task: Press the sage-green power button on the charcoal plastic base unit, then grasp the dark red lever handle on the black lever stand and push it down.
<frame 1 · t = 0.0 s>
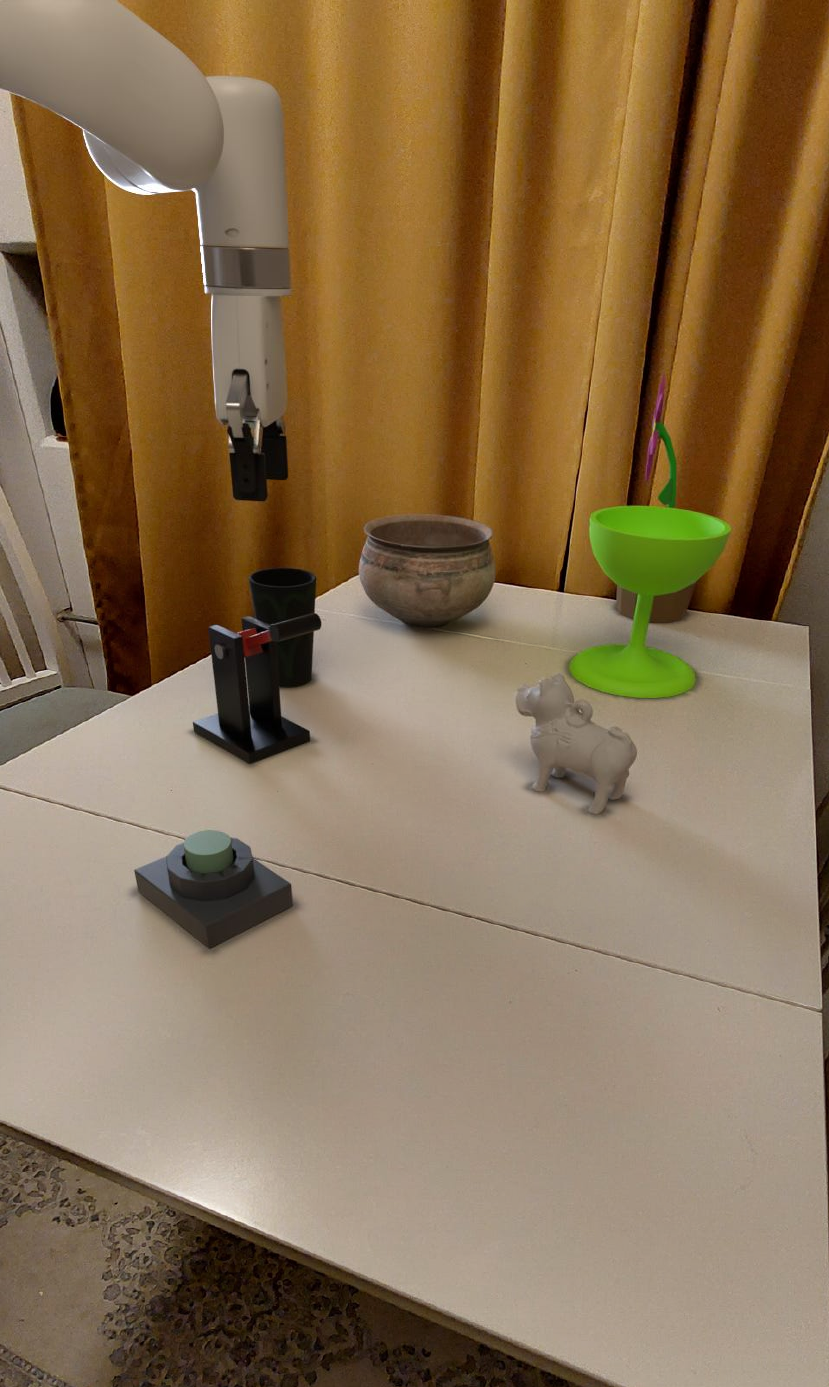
hand: (262, 489, 87), 23 cm above the table, tool pointing down, fingers open, 9 cm apart
black lever stand: (251, 736, 94), on the table
dog figurine: (565, 790, 87), on the table
power button: (208, 851, 68), point 5 cm above the table, slide at 0.2 cm
cup: (288, 679, 107), on the table
lever handle: (266, 636, 85), point 12 cm above the table, hinge at 25.0°
cooking pot: (425, 621, 125), on the table
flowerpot: (650, 612, 132), on the table
wineglass: (631, 674, 112), on the table
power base: (215, 899, 70), on the table
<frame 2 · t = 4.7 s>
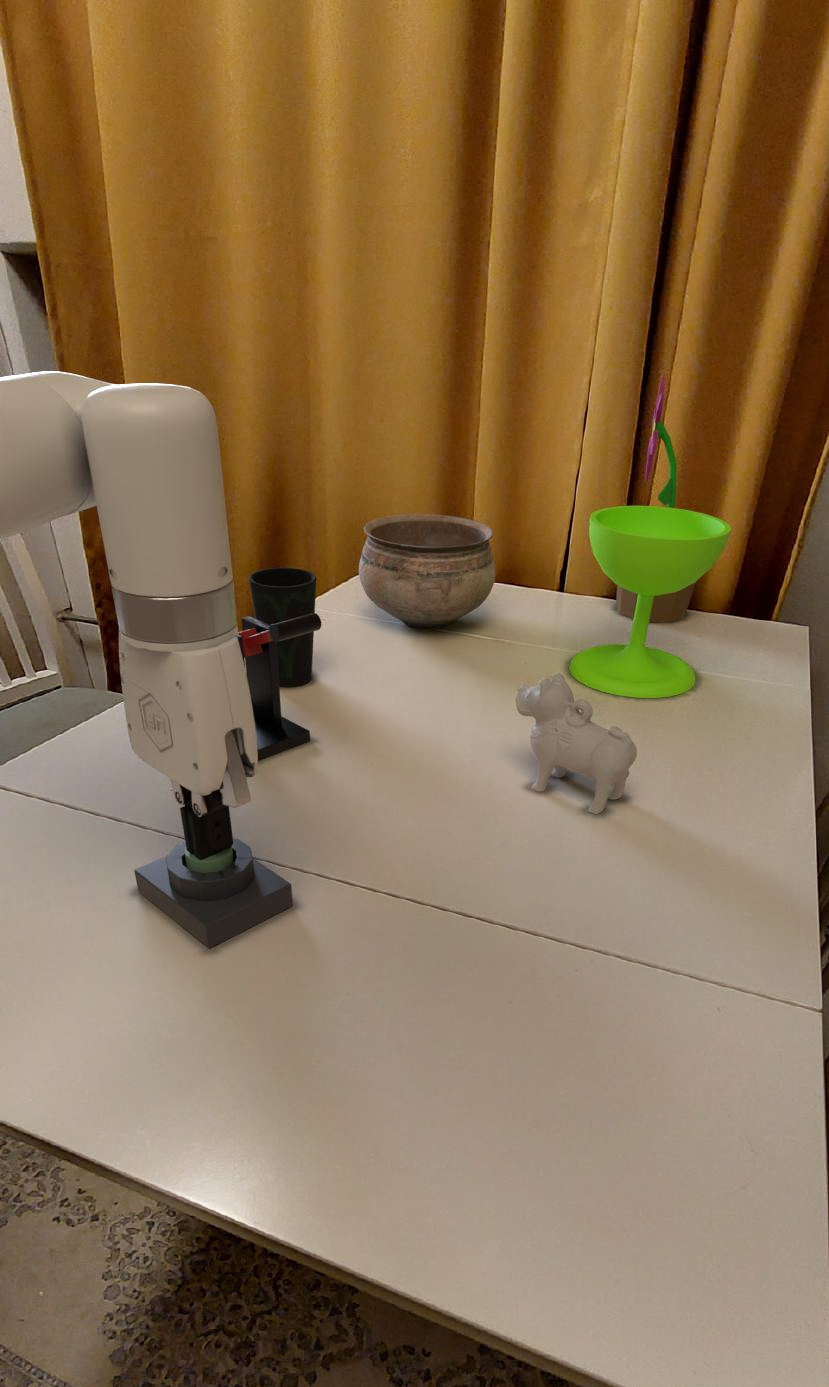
hand: (210, 849, 68), 5 cm above the table, tool pointing down, fingers closed
power button: (209, 858, 68), point 4 cm above the table, slide at -0.5 cm, touching gripper
everything else where it was.
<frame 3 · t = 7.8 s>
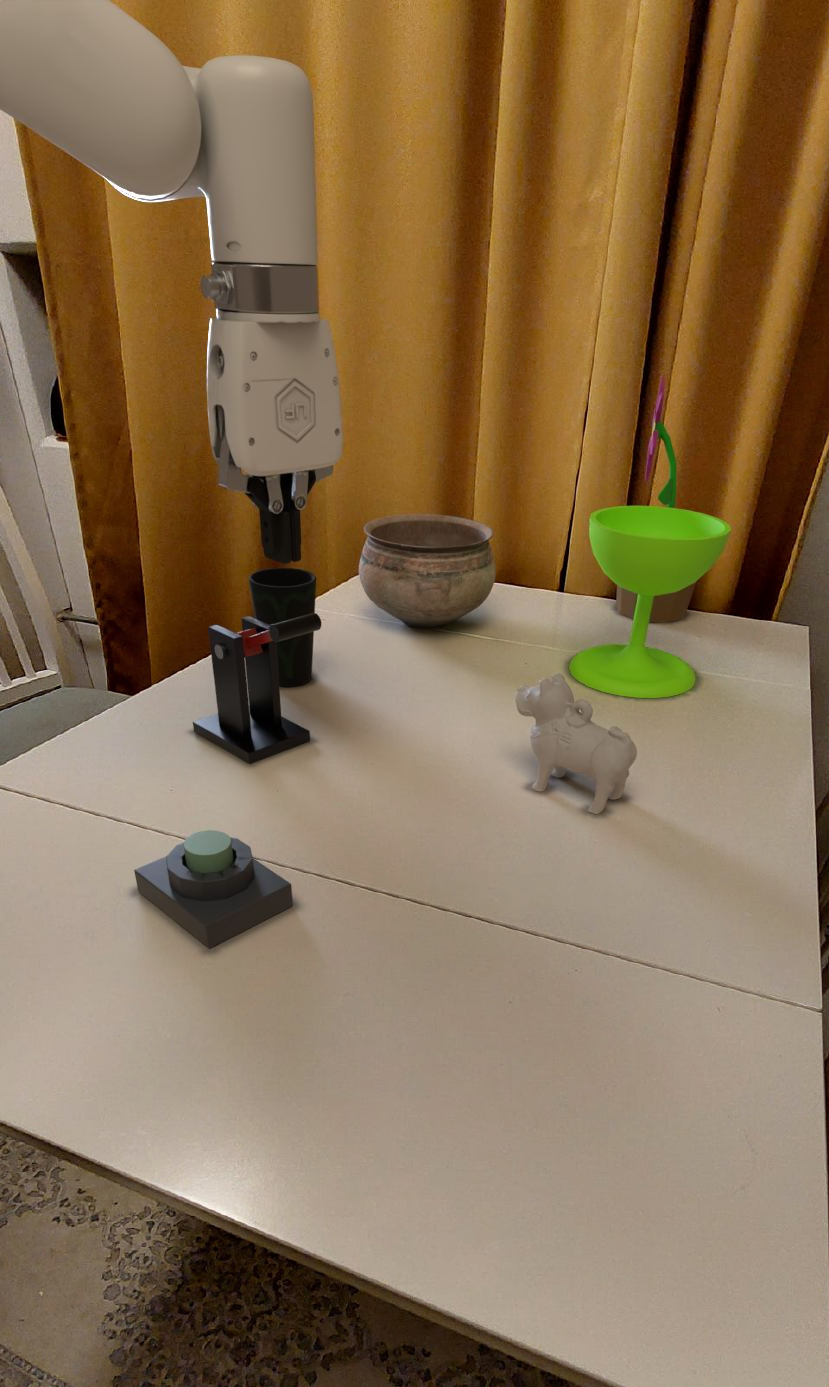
hand: (282, 558, 75), 21 cm above the table, tool pointing down, fingers closed
power button: (208, 851, 68), point 5 cm above the table, slide at 0.1 cm
everything else where it was.
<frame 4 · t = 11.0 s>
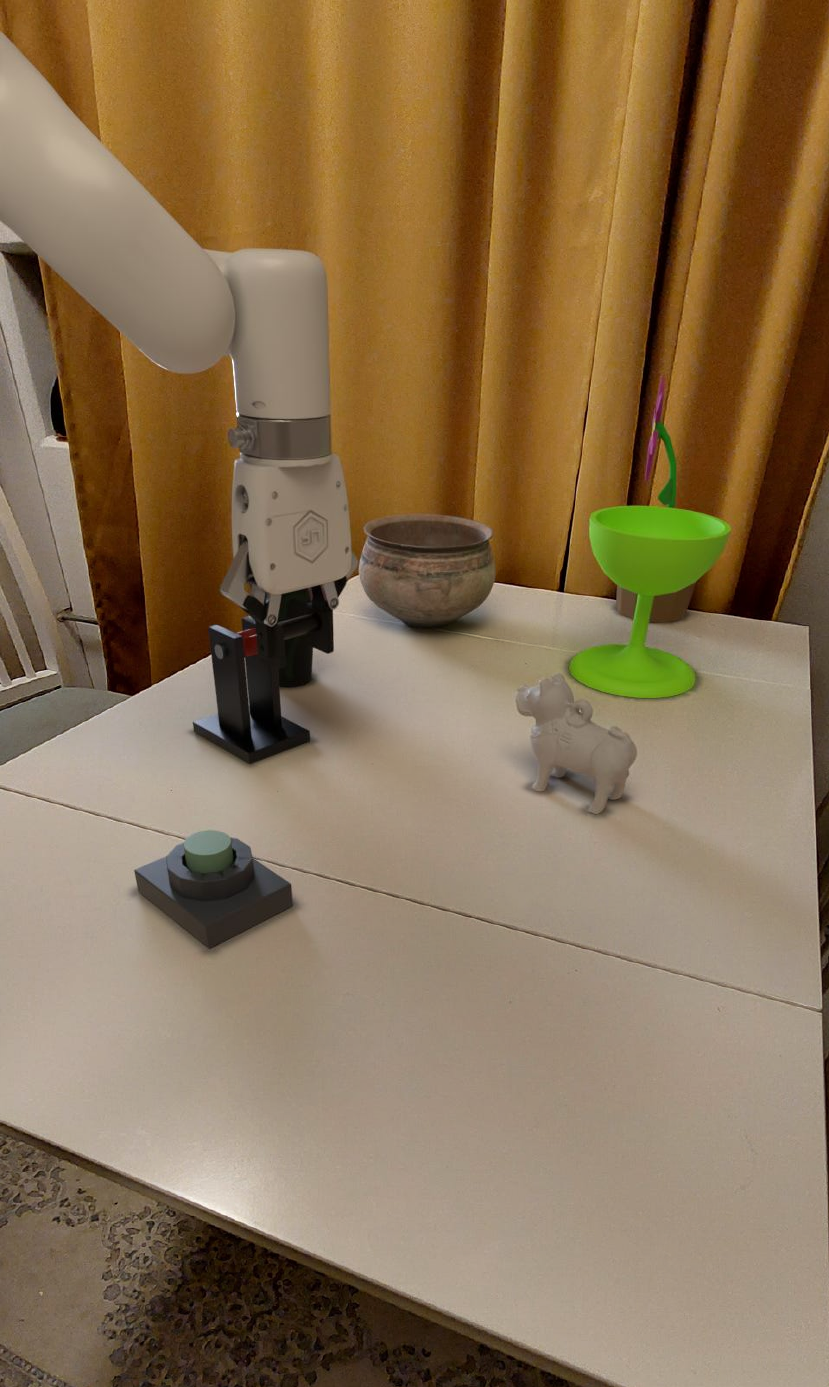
hand: (296, 654, 82), 11 cm above the table, tool pointing down, fingers closed on lever handle, 5 cm apart
lever handle: (266, 636, 85), point 12 cm above the table, hinge at 25.0°, touching gripper
everything else where it was.
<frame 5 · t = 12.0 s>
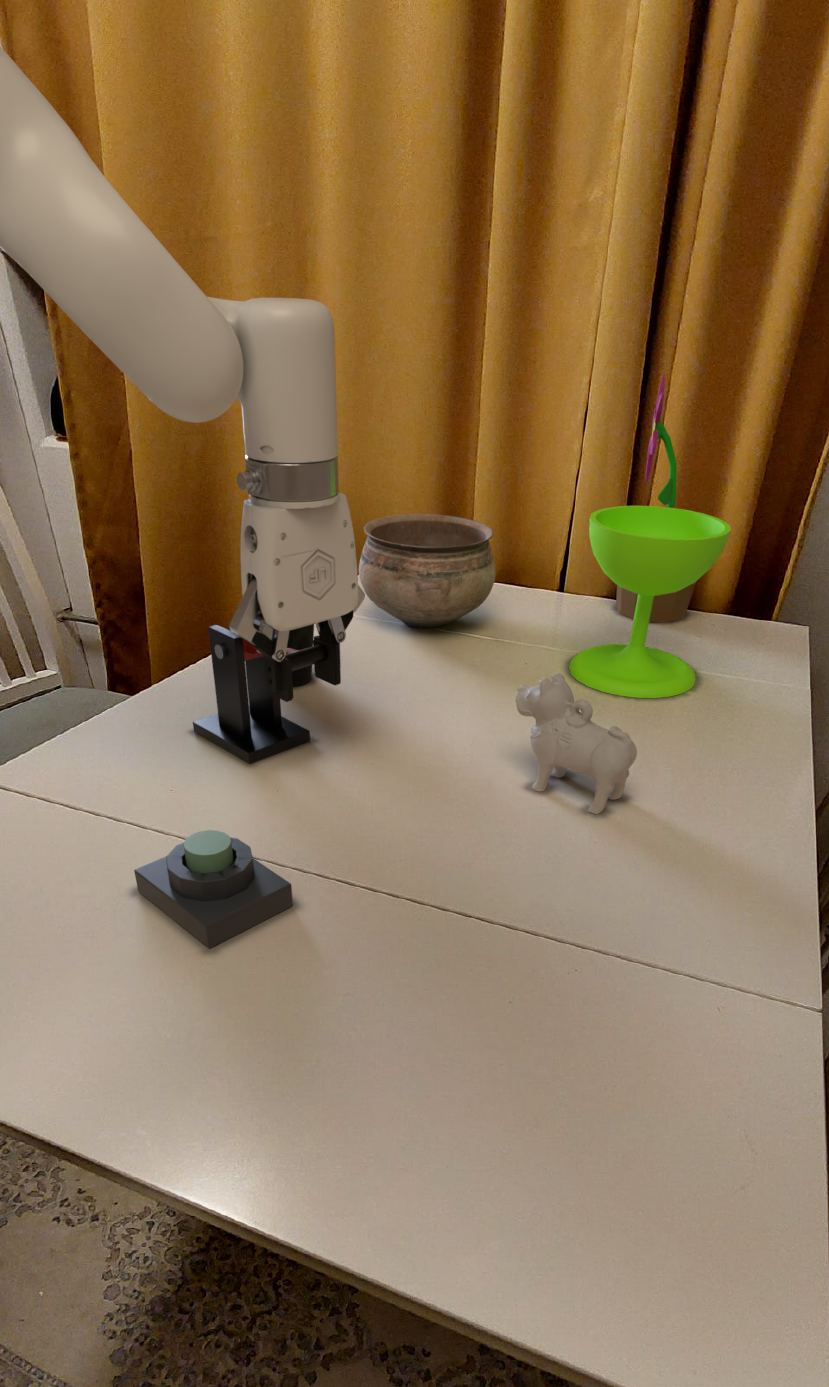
hand: (304, 686, 84), 9 cm above the table, tool pointing down, fingers closed on lever handle, 5 cm apart
lever handle: (270, 651, 85), point 11 cm above the table, hinge at 7.7°, touching gripper
everything else where it was.
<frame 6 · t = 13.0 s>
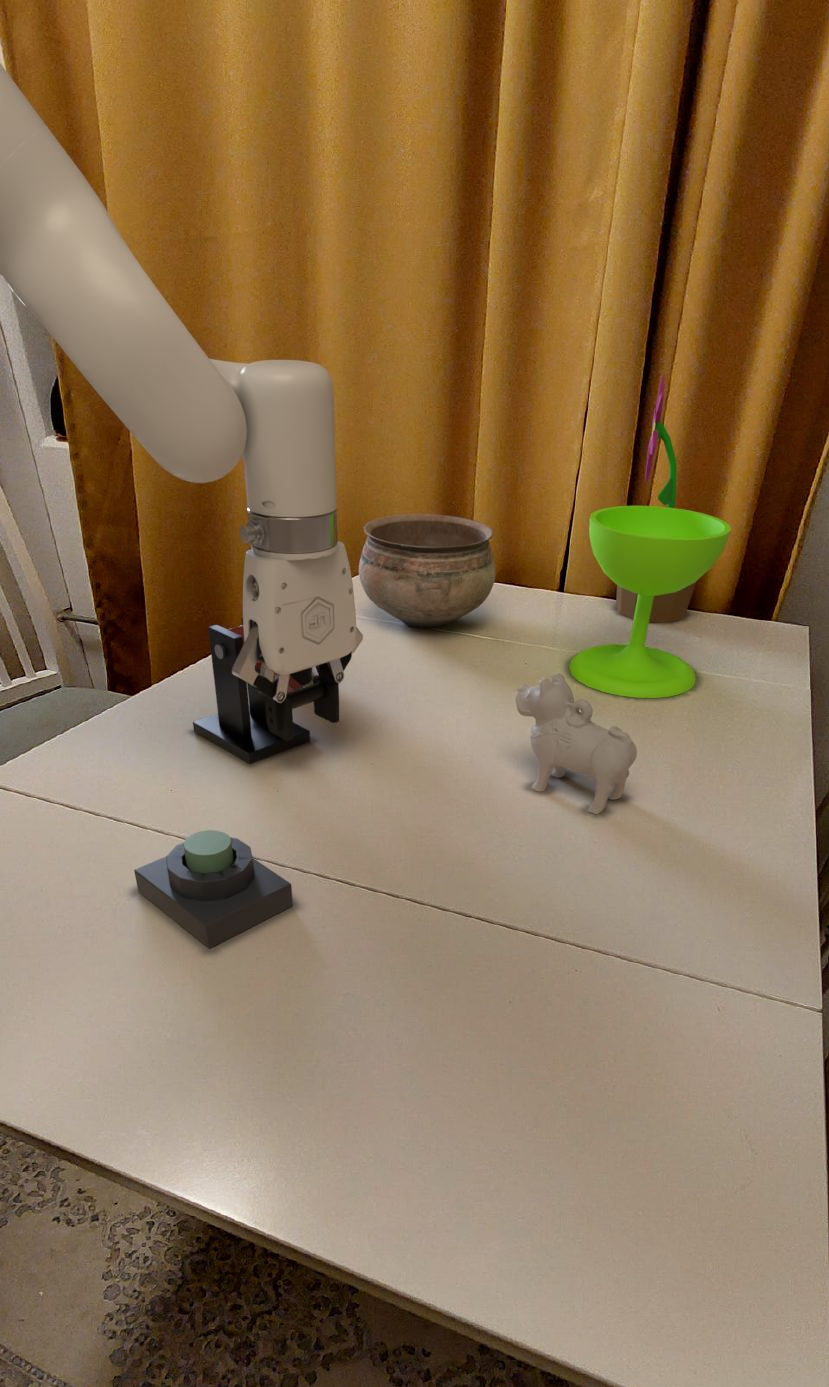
hand: (304, 725, 86), 4 cm above the table, tool pointing down, fingers closed on lever handle, 5 cm apart
lever handle: (270, 668, 86), point 9 cm above the table, hinge at -15.6°, touching gripper
everything else where it was.
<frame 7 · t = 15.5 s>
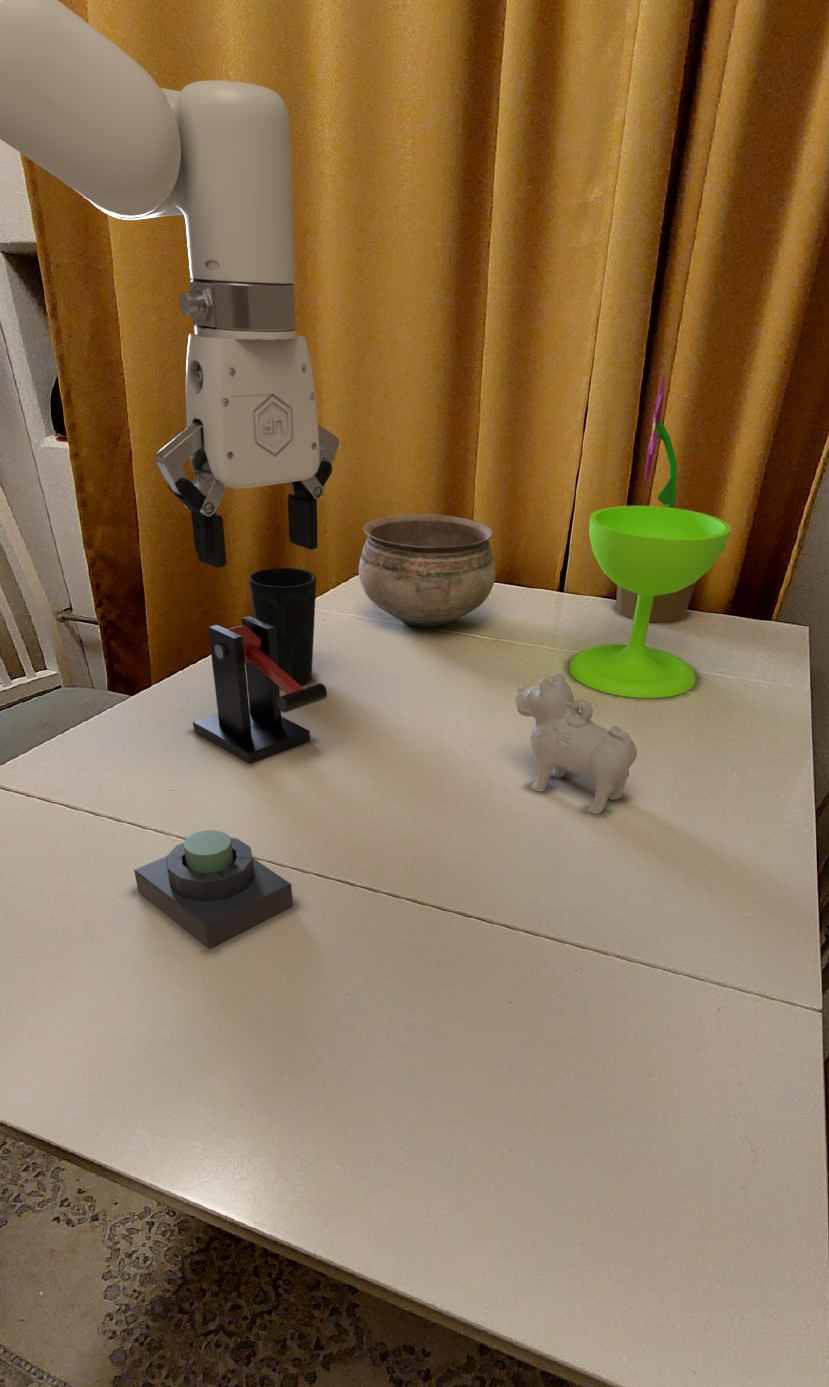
hand: (259, 554, 75), 21 cm above the table, tool pointing down, fingers open, 9 cm apart
lever handle: (270, 669, 86), point 9 cm above the table, hinge at -16.4°
everything else where it was.
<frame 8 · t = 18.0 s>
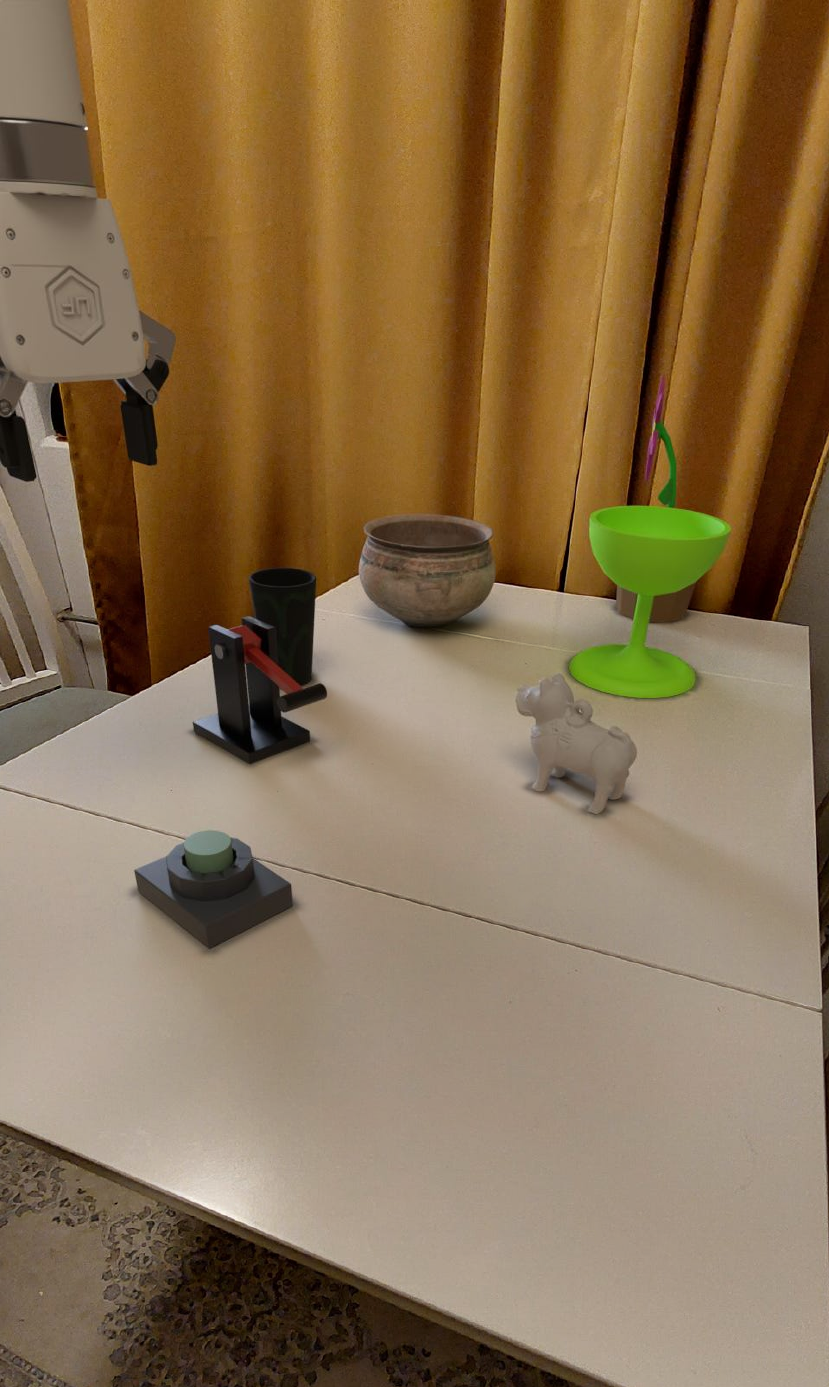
hand: (85, 470, 65), 28 cm above the table, tool pointing down, fingers open, 9 cm apart
nothing on the table moved.
at the end: power button pushed in 1.1 cm at the most during the clip, back to where it started at the end; power button slide at 0.1 cm; lever handle at -16° (first picture: +25°) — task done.
